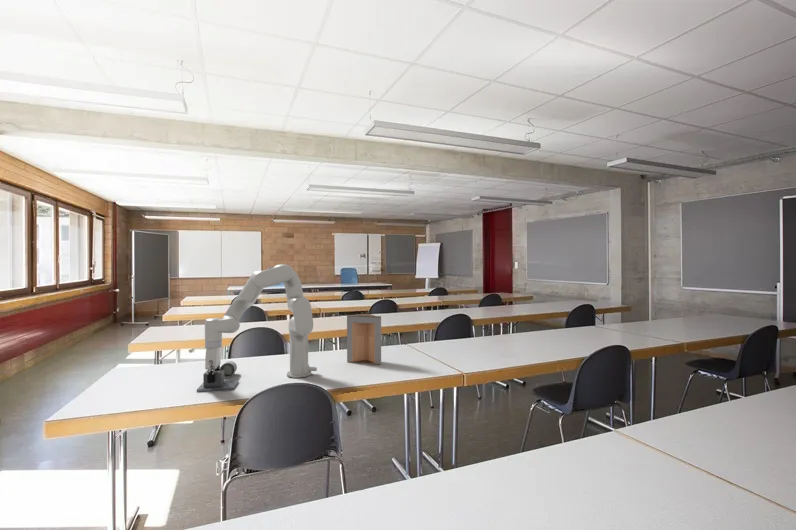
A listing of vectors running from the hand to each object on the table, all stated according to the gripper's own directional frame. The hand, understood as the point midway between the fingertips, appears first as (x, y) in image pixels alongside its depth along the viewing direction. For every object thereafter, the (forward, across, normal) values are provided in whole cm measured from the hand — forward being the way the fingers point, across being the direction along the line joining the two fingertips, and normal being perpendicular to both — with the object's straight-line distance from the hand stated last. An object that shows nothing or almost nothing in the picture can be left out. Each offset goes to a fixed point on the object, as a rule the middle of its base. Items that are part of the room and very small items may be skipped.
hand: (213, 379), depth 196 cm
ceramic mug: (+4, -19, +1) cm, 19 cm away
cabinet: (+4, -35, +77) cm, 85 cm away
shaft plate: (+4, 0, +2) cm, 4 cm away
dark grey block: (+2, 0, 0) cm, 2 cm away
